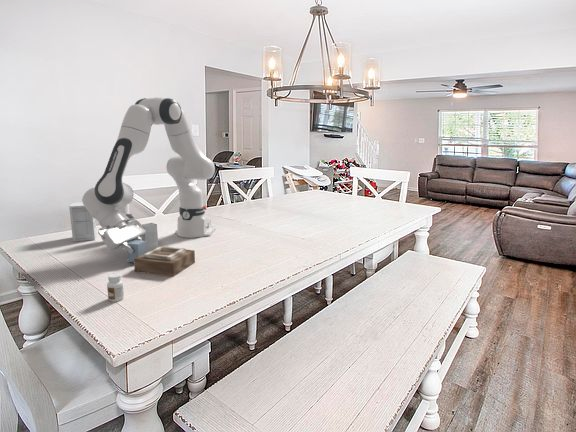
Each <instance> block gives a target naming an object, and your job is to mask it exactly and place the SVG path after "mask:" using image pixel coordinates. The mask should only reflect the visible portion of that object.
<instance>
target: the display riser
mask: <svg viewBox="0 0 576 432" xmlns="http://www.w3.org/2000/svg"><path fill="white" fill-rule="evenodd" d="M195 255H196V253H195V250H193V249H192V250H191V249H186V248H181V247H173V246H166V245H165V246H164V245H163V246H162V245H160V246H158V247H157V248H155V249H153V250H151V251H149V252H147V253H145V254H143V255H141V256H139V257H137V258H135V259H134V262H133V265H134V272H135V273H142V274H143V273H144V274H151V275H157V276H169V277H175V276H178V274H180V273H181V272H183V271H184V270H186V269H187V268H189V267H190V266H191V265H194V264H195V263H196V260H195V259H196V257H195Z"/></svg>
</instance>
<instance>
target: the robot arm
mask: <svg viewBox="0 0 576 432" xmlns="http://www.w3.org/2000/svg"><path fill="white" fill-rule="evenodd" d="M153 125H155V126H156V125H158V126H161V125H164V130H165V133H166V135H167V139H168V141H169V144H170V147H171V149H172V151H173V152H174V153H175V154H177V155H178V156H174V157H170V158H169V159H168V160H167V163H166V167H165V168H166V172H167V174H168V175H169V176H170V177H171V178H172V179H173V180H174V181H175V185H176V186H177V188H178V189H177V190H178V194H179V209H178V212H179V216H178V218H177V227H176V228H177V230H175V232H174V234H176V235H177V236H178V237H182V238H188V239H189V238H190V239H191V238H202V237H210V236H212V234H213V233H214V232H215V231H216V230H217V228H216V226H213V225H212V219H211V218H210V217H209V216H208V215H207V214H206V210H207V208H208V207H207V206H206V205H204V200H203V199H204V195H203V189H201V188H200V187H199V186H198V185H197V184H196V183H195V181H207V180H210V179H212V177H214V174H215V172H216V167H215V164H214V162H213V160H211V159H210V158H208V157H207V156H206V155H205V154H204V153H203V151H201V149H200V148H199V145H197V143H196V141H195V138H194V135H193V134H194V133H193V132H192V128H191V125H190V123H189V120H188V117H187V115H186V113H185V111H184V110H183V108H182V107H181V105H180V103H179V102H178V101H177V100H175V99H173V98H169V97H167V98H165V97H150V98H145V97H144V98H141V99H138V100H136V102H134V104H132V105H130V106H129V107H128V109H127V111H126V113H125V115H124V117H123V120H122V122H121V125H120V129H119V133H118V136H117V139H116V142H115V144H114V146H113V148H112V150H111V153H110V157H109V159H108V162H107V164H106V167H105V170H104V172H103V174H102V176H101V177H100V178H99V179H98V180H97V182H96V183H95V186H94V187H91V188H90V189H88V190H87V191H85V192H84V194H83V196H82V198H81V199H82V200H81V201H82V202H83V204H84V206H85V208H86V209H87V210H88V212H89V213H90V214H91V215H92V216H93V217H94V218H95V220H96V221H97V222H98V225H100V226H101V228H98V235H99V236H100V238H101V240H102V242H103V243H104V244H105V245H106V247H107V248H108V249H109V250H111V251H113V250H115V249H118V248H120V247H121V249H123V250H124V251H126V252H127V251H128V252H129V253H130V254H131V253H133V252H134V251H135V249H134V248H133V247H130V246H128V245H127V243H128V242H131V241H133V240H141V241H142V237H143V236H144V235H145V234H146V230H145V229H144V227H143V226H142V223H141V222H140V221H139V220H138V219H135V218H136V217H135V215H134V214H133V213H129V214H124V213H121V212H120V211H119V209H120V208H122V207H124V206H126V205H127V204H129V205H130V203H131V202H132V201H133V199H134V190H133V188H132V187H131V186H130V185H128V184H127V183H125V182H123V177H124V174H125V171H126V168H127V166H128V162H129V160H130V158H132V157H133V156H134V155H137V154H140V153H142V152H144V150H145V148H146V146H147V144H148V142H149V140H150V139H149V138H150V134H151V130H152V126H153Z"/></svg>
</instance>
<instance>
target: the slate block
mask: <svg viewBox="0 0 576 432" xmlns="http://www.w3.org/2000/svg"><path fill="white" fill-rule="evenodd" d="M127 245H128V246H130V247H133V248H134V249H135V251H134V252H133V253H131V254H130V253H129V252H128V251H127V250H126V252H127V253H126V254H127V262H128V263H134V259H135V258H137V257H139V256H141V255H143V254H145V253H146V241H141V240H133V241H131V242H128V243H127Z"/></svg>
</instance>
